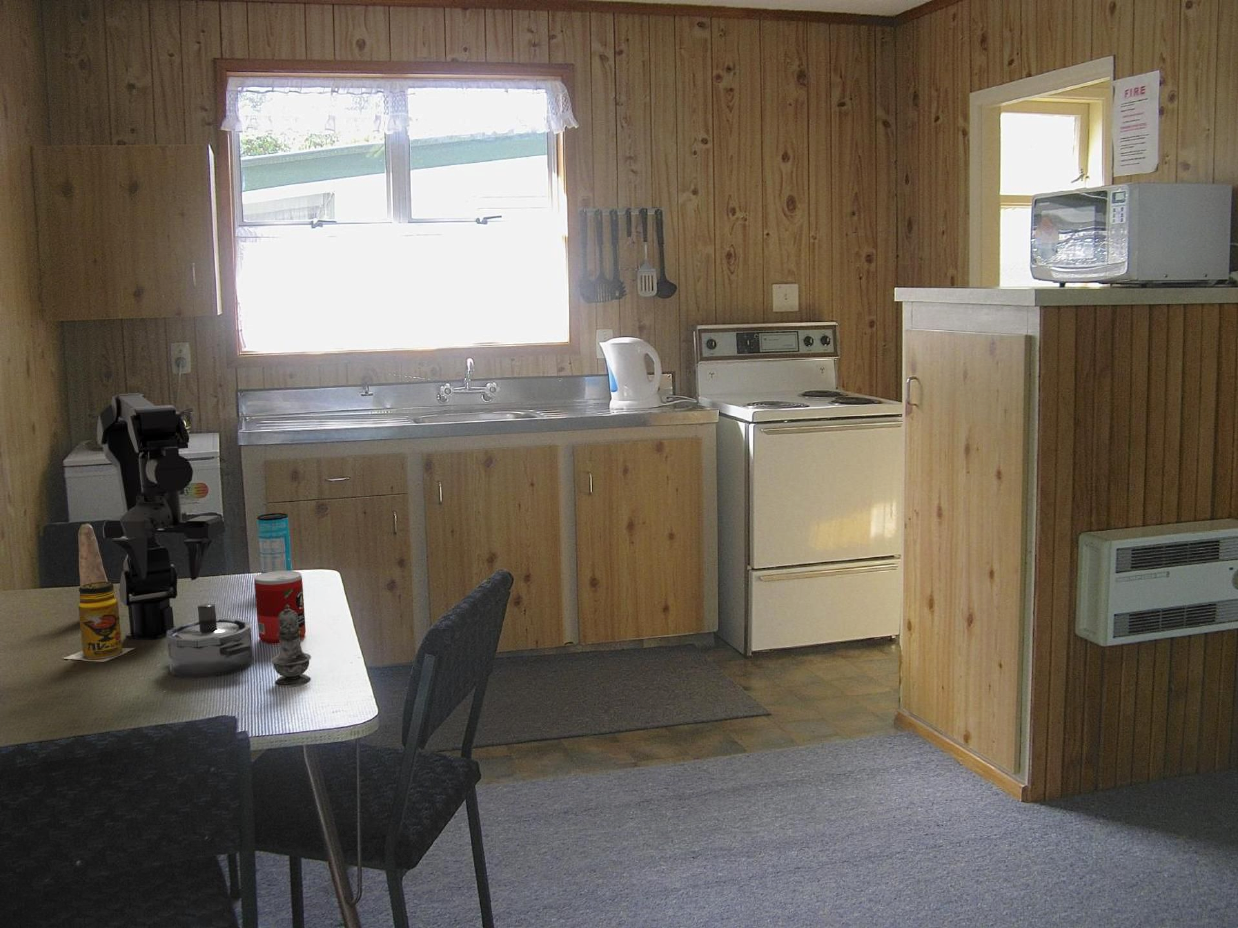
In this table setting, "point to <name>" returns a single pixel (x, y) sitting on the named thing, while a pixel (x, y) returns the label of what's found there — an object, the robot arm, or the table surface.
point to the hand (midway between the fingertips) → (168, 579)
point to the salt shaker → (290, 652)
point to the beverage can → (274, 542)
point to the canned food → (278, 602)
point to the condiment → (99, 623)
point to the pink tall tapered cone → (89, 557)
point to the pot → (210, 652)
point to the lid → (208, 625)
